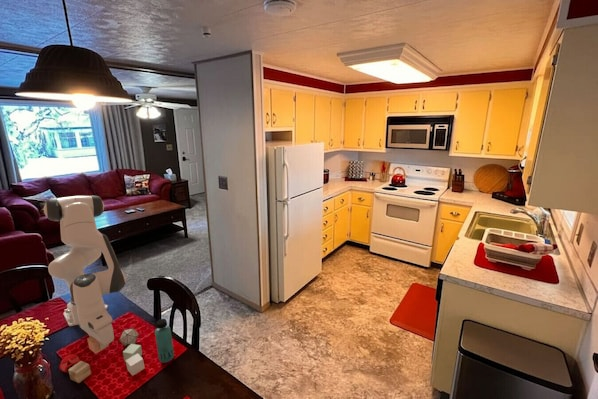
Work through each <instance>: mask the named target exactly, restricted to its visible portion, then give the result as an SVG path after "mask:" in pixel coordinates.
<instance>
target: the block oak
mask: <svg viewBox="0 0 598 399" xmlns="http://www.w3.org/2000/svg"><path fill="white" fill-rule="evenodd" d="M67 370H68V374H69V378H70V380H71V381H73V382H76V383H77V384H80V383H81V382H82V381H84V380H85V379H87V377H89V376H90V375H91V374H92V371H91V367H90V364H89V363H87V362H86V361H83V360H79V362H78V363H76V364H73V365H72V367H71V366H70V367H69V368H68V369H67Z"/></svg>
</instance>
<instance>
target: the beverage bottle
mask: <svg viewBox="0 0 598 399" xmlns="http://www.w3.org/2000/svg"><path fill="white" fill-rule="evenodd" d="M154 335H155V342H156V349H157V357H158V360H159V361H160V362H161V363H168V362H170V361H172V360H173V358H174V356H175V353H174V352H175V351H174V349H175V348H174V343H173V339H172V338H173V336H172V331H171V327H170V326H169V325H168V322H167V319H165V318H161V319H158V320H157V321H156V329H155V330H154Z"/></svg>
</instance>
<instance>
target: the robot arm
mask: <svg viewBox="0 0 598 399" xmlns="http://www.w3.org/2000/svg"><path fill="white" fill-rule="evenodd" d="M104 209H105V203H104V201H103V199H102V198H101V197H100V196H98V195H72V196H64V197H63V196H62V197H52V198H48V199H47V200H46V201H45V204H44V206H43V213H44V215H45V217H46V218H47V219H48V220H50V221H52V222H59V224H60V225H59V226H60V227H59V228H60V240H61V242H62V243H64V244H65V245H66V246H70V247H71V249H70V250H69V251H67V252H66V253H64V254H62V255H59V256H58V257H56V258H55V259H54V260H52V261H51V262H50V263H49V264H48V267H47V268H48V273H49V275H50V276H51V277H53V278H54V279H56V280H62V281H63V282H65V284H67V287H68V290H69V294H70V298H69V300H70V301H69V302H68V303H67V304H66V306H67V308H66V309H64V312H63V313H62V314H63V316H64V319H65V321H66V323H67V325H68V326H69V327H74V326H79V328H81V330H83V331H84V332H85V333H87V334H88V336H89V337H91V336H92V337H93V338H95V339H96V340H97V341H99V342H100V344H99V347H100V348H101V349H102V348H104V347H105V346H106V345H107V344H109V345H110V344H111V343H112V342H113V341H114V340H115V335H114V327H113V325H112V322H113V317H112V315H110V313H109V312H108V310H107V309H108V308H109V305H108V304H105V301H104V298H103V295H108V294H113V293H119V292H120V291H122V289H123V288H124V287H125V286H126V284H127V283H126V280H127V278H126V275H125V273H124V271H123V270H122V268H121V266H120V264H119V261H118V258H117V256H116V253H115V250H114V249H113V246H112V245H111V242H110V240H109V237H108V236H107V235H106V234H104V233H102V232H100V231H99V230H98V228H97V224H96V220H95V218H97V217H100V216H101V215H102V214H103V213H104ZM102 254H103V258H104V260H105V262H106V265H107V267H108V269H106V270H103V271H102V270H101V271H97V272H93V273H85V272H84V269H85V268H87V267H89V266H90V265H91V264H93V263H95V262H96V261H97V260H99V258H100V257H101V256H102Z"/></svg>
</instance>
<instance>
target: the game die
mask: <svg viewBox="0 0 598 399" xmlns="http://www.w3.org/2000/svg"><path fill="white" fill-rule="evenodd" d="M135 327H136V326H134V327H133V328H129V329H123V328H122V333H121V335H120V338H119V339H118V340H117V342H121V344H122V345H123V348H125V347H126V346H127V347H128V346H129V345H130V344H136V343H137V339H138V337H139V335H141V332H138V331H137V330H136V329H135ZM136 345H137V344H136Z"/></svg>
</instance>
